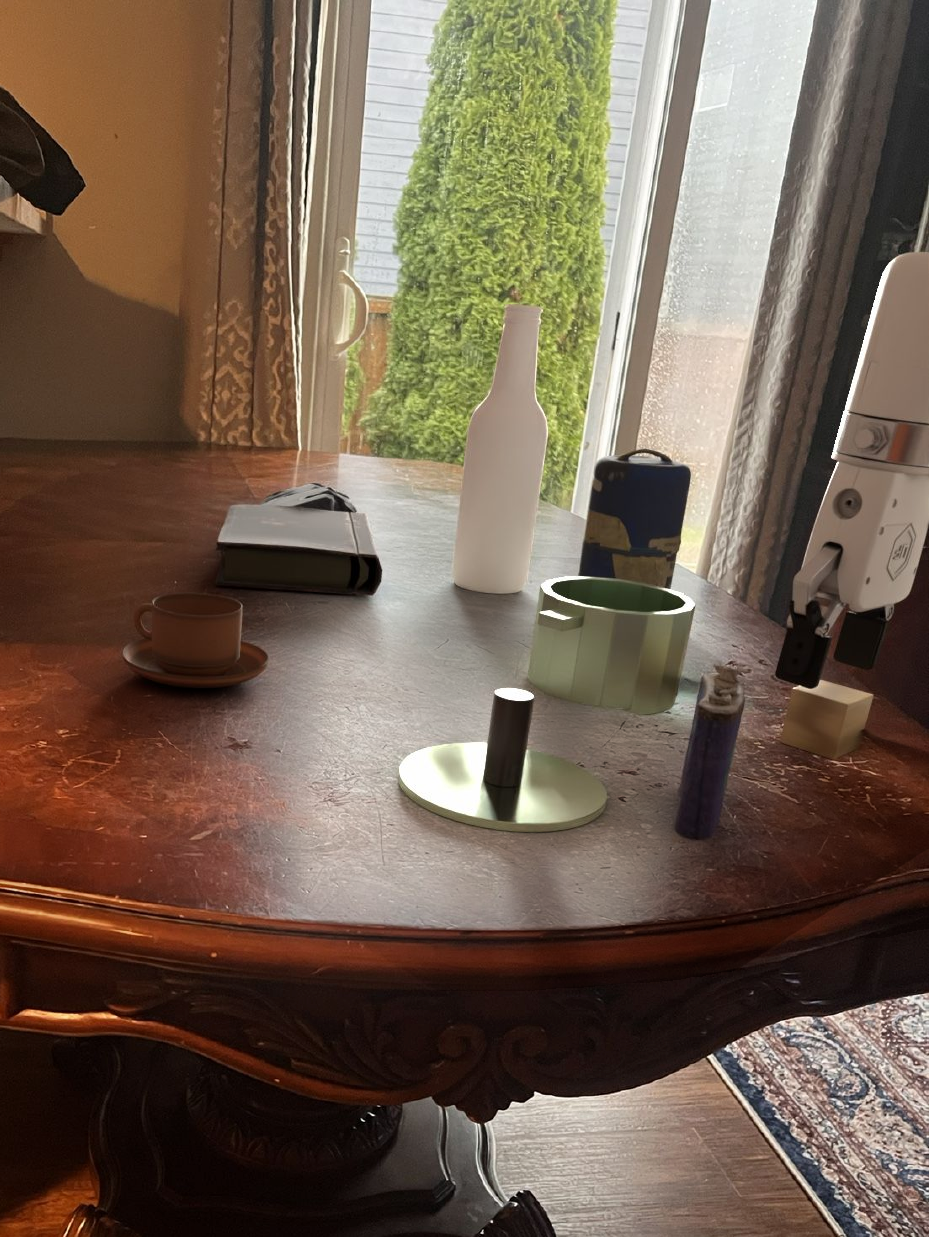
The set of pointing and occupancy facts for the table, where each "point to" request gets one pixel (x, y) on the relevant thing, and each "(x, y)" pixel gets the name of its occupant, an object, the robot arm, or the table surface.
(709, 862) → the table surface
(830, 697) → the block
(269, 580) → the diary
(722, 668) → the flask
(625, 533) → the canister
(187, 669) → the cup and saucer
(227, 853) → the table surface
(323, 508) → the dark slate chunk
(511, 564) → the alcohol
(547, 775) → the lid
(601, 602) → the pot
